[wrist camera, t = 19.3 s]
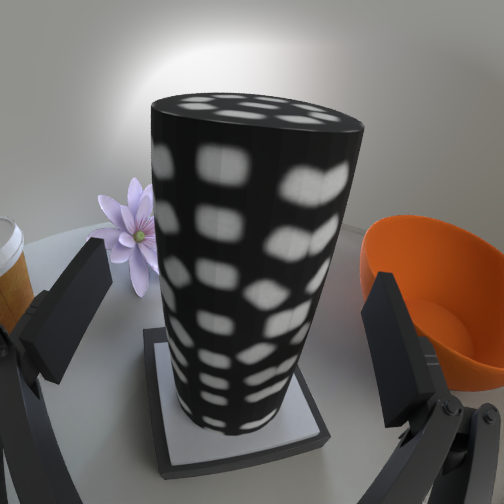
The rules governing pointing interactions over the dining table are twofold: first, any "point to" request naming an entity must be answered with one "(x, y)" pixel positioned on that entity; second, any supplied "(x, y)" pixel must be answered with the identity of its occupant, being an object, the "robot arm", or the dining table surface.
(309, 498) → the dining table surface
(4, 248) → the disposable coffee cup
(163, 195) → the white-spotted black cylinder
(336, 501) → the dining table surface
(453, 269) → the bowl
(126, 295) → the dining table surface
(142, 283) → the water lily
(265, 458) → the scale
